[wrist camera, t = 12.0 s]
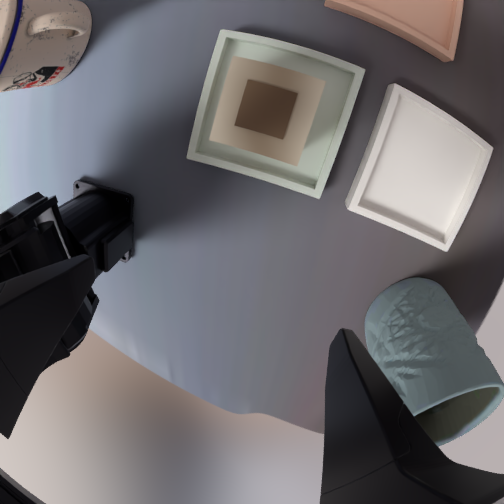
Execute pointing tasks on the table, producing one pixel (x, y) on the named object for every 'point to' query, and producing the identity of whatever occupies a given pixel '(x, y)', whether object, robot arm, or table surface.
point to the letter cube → (266, 109)
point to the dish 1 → (323, 126)
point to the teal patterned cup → (432, 358)
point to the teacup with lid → (41, 41)
